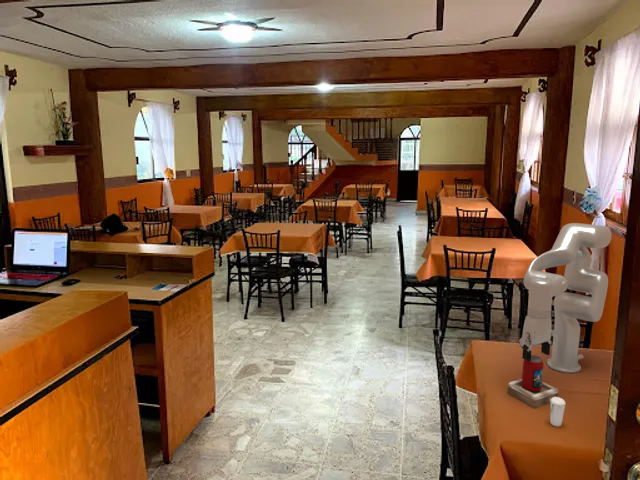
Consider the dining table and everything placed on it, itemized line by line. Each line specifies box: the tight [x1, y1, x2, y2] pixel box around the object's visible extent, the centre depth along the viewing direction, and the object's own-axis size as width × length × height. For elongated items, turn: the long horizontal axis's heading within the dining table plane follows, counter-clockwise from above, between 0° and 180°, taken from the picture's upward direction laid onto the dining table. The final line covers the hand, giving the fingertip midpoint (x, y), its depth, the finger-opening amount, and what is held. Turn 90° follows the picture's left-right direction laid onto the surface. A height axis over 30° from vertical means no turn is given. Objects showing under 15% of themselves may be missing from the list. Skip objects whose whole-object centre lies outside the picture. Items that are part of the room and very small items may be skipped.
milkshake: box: [549, 396, 566, 427], centre depth 161 cm, size 5×5×10 cm
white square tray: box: [507, 378, 559, 409], centre depth 179 cm, size 12×12×4 cm
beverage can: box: [521, 354, 544, 392], centre depth 178 cm, size 7×7×12 cm
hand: (535, 356), depth 177 cm, fingers open, 9 cm apart
